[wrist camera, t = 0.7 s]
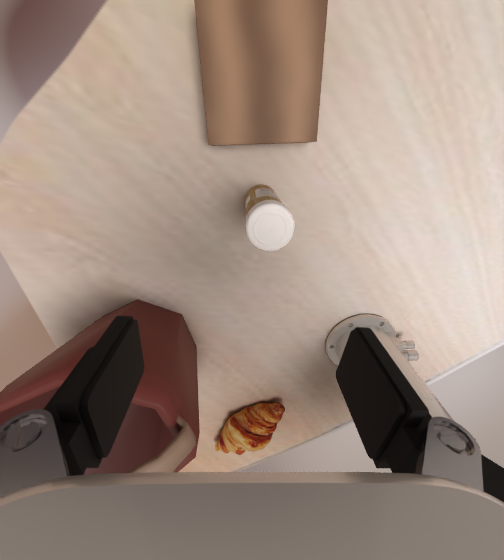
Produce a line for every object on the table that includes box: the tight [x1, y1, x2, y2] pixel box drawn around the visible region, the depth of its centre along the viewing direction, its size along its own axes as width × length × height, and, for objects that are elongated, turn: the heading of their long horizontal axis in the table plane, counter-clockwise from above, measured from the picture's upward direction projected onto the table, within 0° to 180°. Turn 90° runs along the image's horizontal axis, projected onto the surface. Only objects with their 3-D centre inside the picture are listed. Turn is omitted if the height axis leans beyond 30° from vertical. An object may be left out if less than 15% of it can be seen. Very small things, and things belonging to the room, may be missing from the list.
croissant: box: [215, 403, 285, 455], centre depth 55 cm, size 21×10×8 cm, turn 137°
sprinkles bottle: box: [245, 185, 295, 251], centre depth 29 cm, size 5×5×14 cm
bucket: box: [0, 300, 199, 475], centre depth 34 cm, size 24×22×25 cm
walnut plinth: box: [195, 0, 328, 146], centre depth 27 cm, size 12×12×4 cm
